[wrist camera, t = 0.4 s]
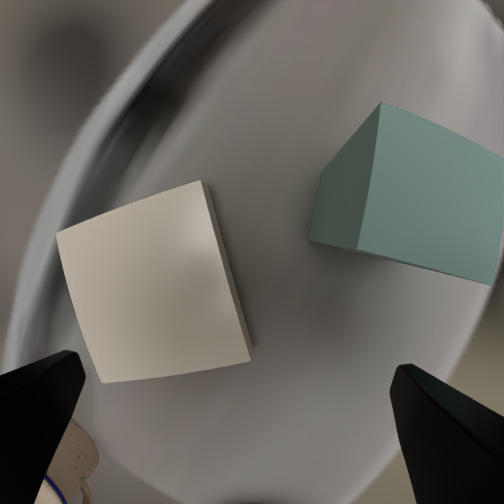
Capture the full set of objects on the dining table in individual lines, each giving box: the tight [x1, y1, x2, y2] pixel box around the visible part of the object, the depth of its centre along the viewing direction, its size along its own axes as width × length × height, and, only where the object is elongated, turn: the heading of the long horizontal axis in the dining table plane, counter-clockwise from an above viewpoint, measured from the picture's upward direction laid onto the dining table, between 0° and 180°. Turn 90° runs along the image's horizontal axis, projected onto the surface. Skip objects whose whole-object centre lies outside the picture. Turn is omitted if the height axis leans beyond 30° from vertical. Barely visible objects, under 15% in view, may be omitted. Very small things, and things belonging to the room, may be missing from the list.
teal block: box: [308, 102, 504, 286], centre depth 14 cm, size 5×6×12 cm
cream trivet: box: [56, 180, 253, 383], centre depth 20 cm, size 12×12×2 cm
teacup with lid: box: [34, 418, 99, 504], centre depth 18 cm, size 12×9×12 cm
